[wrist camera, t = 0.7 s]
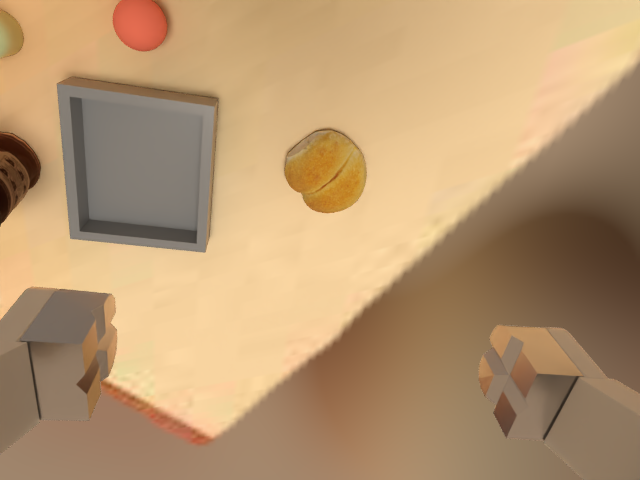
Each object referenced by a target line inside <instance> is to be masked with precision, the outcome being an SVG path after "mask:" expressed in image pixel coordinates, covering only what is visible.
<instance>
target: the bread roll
mask: <svg viewBox="0 0 640 480" xmlns="http://www.w3.org/2000/svg"><path fill="white" fill-rule="evenodd" d="M285 176H286V179H287V181H288V183H289V185H290V187H291V188H293V189H294V190H295V191H297V192H301V194H302V195H303V199H304V201H305V203H306V204H307V206H309V207H310V208H311V209H312V210H315V211H317V212H322V213H334V212H338V211H342V210H344V209H347V208H348V207H350V206H351V205H353V204H354V203H355V202H356V201H357V200H358V199H359V197H360V196H361V194H362V192H363V190H364V187H365V183H366V176H367V171H366V163H365V160H364V157H363V155H362V153H361V152H360V150H359V149H358V148H357V147H356V146H355V145H354V144H353V143H352V142H351V140H350V139H348V138H347V137H346V136H344V135H342V134H340V133H338V132H335V131H333V130H324V131H317V132H315V133H313V134H311V135H310V136H308V137H307V138H305V139H303V140H302V141H301V142H300V143H299V144H297V146H296V147H295V148H293V149H292V150H291V151H290V152H289V153H288V155H287V161H286V166H285Z"/></svg>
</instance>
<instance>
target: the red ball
mask: <svg viewBox="0 0 640 480" xmlns="http://www.w3.org/2000/svg"><path fill="white" fill-rule="evenodd" d="M113 25H114V29H115V32H116V34H117V35H118V37H119V38H120V40H121V41H122V42H123V43H124V44H125V45H127V46H128V47H130V48H132V49H134V50H138V51H150V50H153V49H155V48H157V47H158V46H159V45H160V44H161V43H162V42H163V41H164V39H165V36H166V32H167V23H166V18H165V16H164V14H163V12H162V10H161V9H160V7H159V6H158V5H157V4H156V3H155V2H153V1H152V0H122V1H120V2H119V3H118V5H117V6H116V8H115V10H114V13H113Z"/></svg>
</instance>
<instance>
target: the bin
mask: <svg viewBox="0 0 640 480" xmlns="http://www.w3.org/2000/svg"><path fill="white" fill-rule="evenodd" d="M57 91H58V102H59V114H60V125H61V137H62V148H63V160H64V171H65V183H66V195H67V206H68V218H69V229H70V239H78V240H88V241H98V242H107V243H117V244H127V245H137V246H147V247H156V248H166V249H176V250H186V251H195V252H206V248H207V245H208V241H209V236H210V221H211V205H212V190H213V175H214V160H215V145H216V130H217V115H218V99H217V98H211V97H204V96H197V95H190V94H184V93H177V92H170V91H164V90H157V89H150V88H144V87H137V86H130V85H123V84H117V83H110V82H103V81H97V80H90V79H83V78H76V77H70V78H68V79H66V80H63V81H61V82H59V83H57Z"/></svg>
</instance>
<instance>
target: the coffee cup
mask: <svg viewBox="0 0 640 480" xmlns="http://www.w3.org/2000/svg"><path fill="white" fill-rule="evenodd" d="M39 175H40V164H39V161H38V159H37V157H36V155H35V153H34V152H33V151H32V149H31V148H30V147H29V146H28V145H27V144H26V143H25V142H24V141H23V140H21V139H19V138H18V137H16V136H15V135H14V134H11V133H0V226H1V223H3V222H4V221H5V219H6V218H7V217H8V215H9V214H10V213H11V212H12V210H13V209H14V208H15V207H16V206H17V205H18V203H19V202H20V201H21V200H22V199H23V198H24V196H25V194H26V193H27V191H28V189H30V188H32V187H33V186H34V185H35V184H36V183H37V181H38V179H39Z"/></svg>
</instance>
